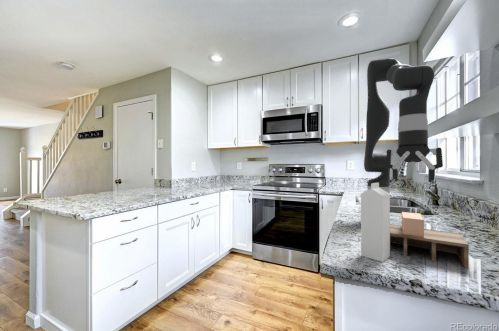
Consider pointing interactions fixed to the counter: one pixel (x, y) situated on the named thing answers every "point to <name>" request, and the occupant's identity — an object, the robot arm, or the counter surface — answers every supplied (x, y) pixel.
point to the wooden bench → (433, 242)
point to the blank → (412, 224)
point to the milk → (375, 223)
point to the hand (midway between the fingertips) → (412, 181)
